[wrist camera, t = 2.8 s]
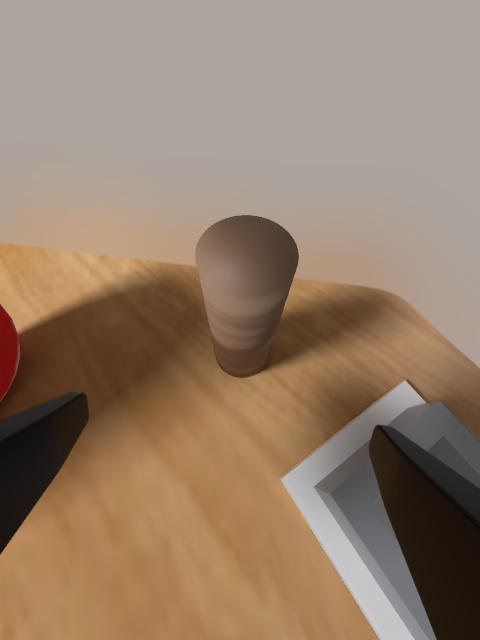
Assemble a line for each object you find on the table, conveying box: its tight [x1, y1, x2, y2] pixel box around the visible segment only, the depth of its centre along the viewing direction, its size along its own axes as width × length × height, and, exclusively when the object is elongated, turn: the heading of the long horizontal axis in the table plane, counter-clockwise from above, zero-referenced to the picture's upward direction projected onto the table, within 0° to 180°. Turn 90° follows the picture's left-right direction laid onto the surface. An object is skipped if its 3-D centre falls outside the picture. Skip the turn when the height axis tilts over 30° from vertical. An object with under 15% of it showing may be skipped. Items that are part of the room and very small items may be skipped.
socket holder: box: [279, 380, 480, 640], centre depth 16 cm, size 12×12×4 cm
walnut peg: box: [195, 215, 299, 378], centre depth 17 cm, size 4×4×12 cm
